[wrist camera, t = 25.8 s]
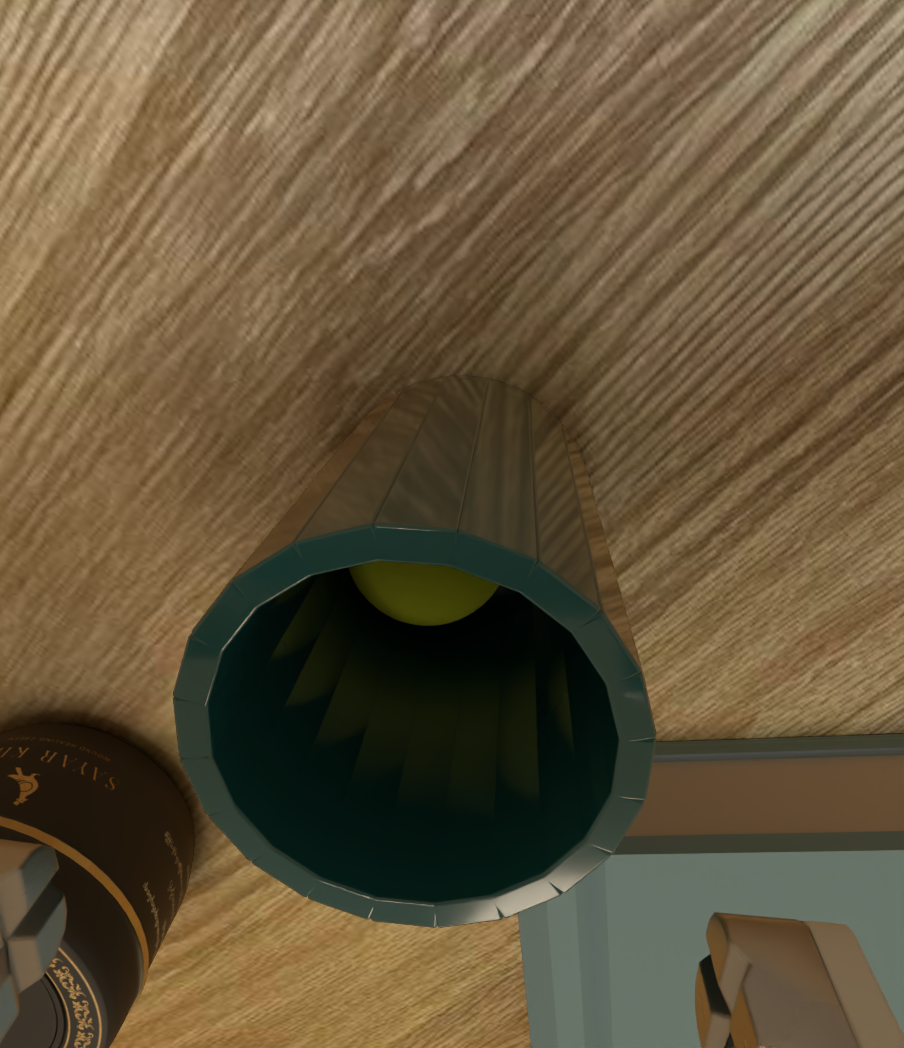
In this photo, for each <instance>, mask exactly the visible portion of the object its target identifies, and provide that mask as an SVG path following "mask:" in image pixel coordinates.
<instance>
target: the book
mask: <svg viewBox="0 0 904 1048" xmlns="http://www.w3.org/2000/svg"><path fill="white" fill-rule="evenodd" d="M714 912H720V913H731V914H742V915H753V916H765V917H776V918H787V919H796V920H798V921H801V920H804V921H815V922H825V923H835V924H846V925H847V926H848V927H849V928H850V929H851V930H852V931H853V932H854V934H855V936H856V938H857V940H858V942H859V944H860V946H861V948H862V950H863V952H864V954H865V957H866V959H867V961H868V963H869V965H870V967H871V969H872V971H873V973H874V975H875V977H876V979H877V981H878V983H879V985H880V987H881V989H882V992H883V994H884V996H885V998H886V1000H887V1002H888V1004H889V1006H890V1008H891V1010H892V1012H893V1014H894V1016H895V1018H896V1020H897V1022H898V1024H899V1027H900V1029H901V1031H902V1033H903V1035H904V734H886V735H856V736H826V737H795V738H765V739H735V740H704V741H674V742H656V747H655V753H654V758H653V764H652V770H651V775H650V781H649V787H648V792H647V797H646V799H645V800H644V805H643V806H642V808H641V810H640V811H639V813H638V815H637V816H636V818H635V820H634V821H633V823H632V824H631V826H630V828H629V829H628V831H627V833H626V834H625V836H624V837H623V839H622V841H621V842H620V844H619V846H618V847H617V849H616V850H615V852H614V853H612V854H611V856H610V857H609V858H608V859H607V860H606V861H605V862H603V863H602V864H601V865H600V866H598V867H597V868H596V869H595V870H593V871H592V872H591V873H590V874H588V875H587V876H586V877H585V878H584V879H582V880H581V881H580V882H579V883H577V884H576V885H575V886H574V887H572V888H571V889H570V890H569V891H568V892H566V893H562V895H561V896H559V897H556V898H554V899H552V900H549V901H547V902H544V903H542V904H539V905H537V906H534V907H532V908H530V909H527V910H525V911H522V912H520V913H518V919H519V929H520V939H521V949H522V960H523V970H524V980H525V990H526V1000H527V1010H528V1020H529V1031H530V1041H531V1048H701V1043H700V1039H699V1034H698V1029H697V1021H696V1013H695V981H696V976H697V971H698V966H699V962H700V961H701V960H703V959H704V958H705V957H707V956H708V955H709V954H710V951H709V947H708V943H707V939H706V931H707V927H708V923H709V919H710V918H711V916H712V915H713V913H714Z"/></svg>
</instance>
